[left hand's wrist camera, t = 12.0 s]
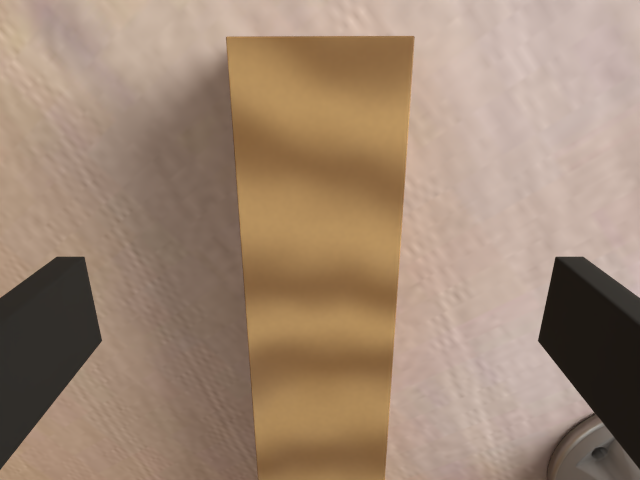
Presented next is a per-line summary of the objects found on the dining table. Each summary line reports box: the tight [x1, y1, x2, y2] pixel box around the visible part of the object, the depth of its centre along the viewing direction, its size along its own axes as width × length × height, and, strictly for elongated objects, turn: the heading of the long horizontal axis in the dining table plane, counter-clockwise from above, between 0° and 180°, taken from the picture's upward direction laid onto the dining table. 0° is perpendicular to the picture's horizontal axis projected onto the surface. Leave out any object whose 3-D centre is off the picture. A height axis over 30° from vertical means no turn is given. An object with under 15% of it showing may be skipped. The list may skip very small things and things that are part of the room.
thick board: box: [226, 36, 414, 480], centre depth 37 cm, size 58×10×7 cm, turn 0°
